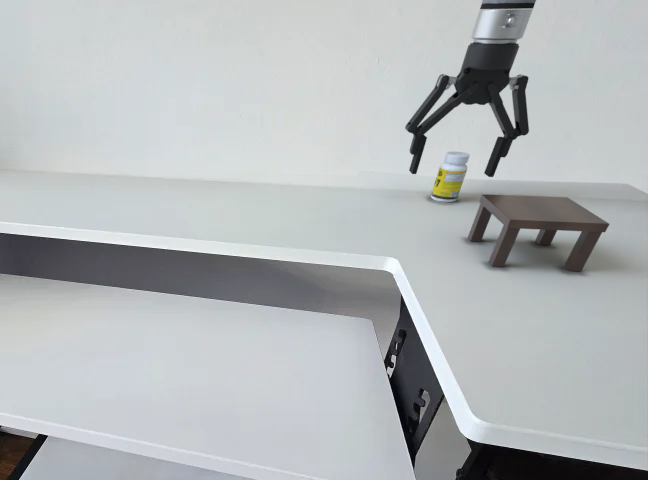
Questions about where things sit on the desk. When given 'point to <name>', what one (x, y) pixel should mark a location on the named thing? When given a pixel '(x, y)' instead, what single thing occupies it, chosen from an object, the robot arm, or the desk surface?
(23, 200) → the desk surface
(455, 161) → the supplement bottle
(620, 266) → the desk surface
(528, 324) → the desk surface
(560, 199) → the small wooden table
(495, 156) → the robot arm
